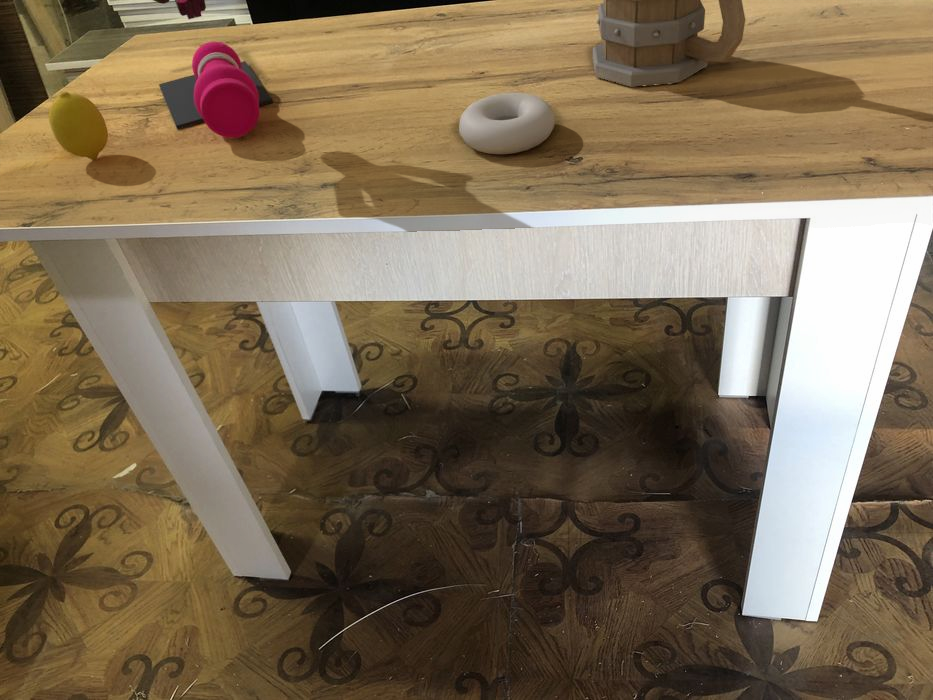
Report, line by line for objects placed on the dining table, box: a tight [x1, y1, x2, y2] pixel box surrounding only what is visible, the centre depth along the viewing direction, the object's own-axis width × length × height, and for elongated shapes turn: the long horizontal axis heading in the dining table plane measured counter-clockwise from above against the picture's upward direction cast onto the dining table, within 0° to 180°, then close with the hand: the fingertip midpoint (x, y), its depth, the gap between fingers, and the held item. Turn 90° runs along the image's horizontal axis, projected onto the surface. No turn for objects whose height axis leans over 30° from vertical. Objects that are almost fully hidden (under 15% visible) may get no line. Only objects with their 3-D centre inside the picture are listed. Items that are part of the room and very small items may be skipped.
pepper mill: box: [191, 41, 260, 139], centre depth 93 cm, size 7×7×20 cm
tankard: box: [592, 0, 746, 88], centre depth 84 cm, size 20×13×15 cm, turn 42°
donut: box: [458, 92, 556, 155], centre depth 80 cm, size 10×4×10 cm
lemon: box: [48, 91, 109, 161], centre depth 87 cm, size 6×6×8 cm
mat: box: [158, 60, 274, 130], centre depth 100 cm, size 12×16×1 cm
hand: (191, 10), depth 84 cm, fingers closed
